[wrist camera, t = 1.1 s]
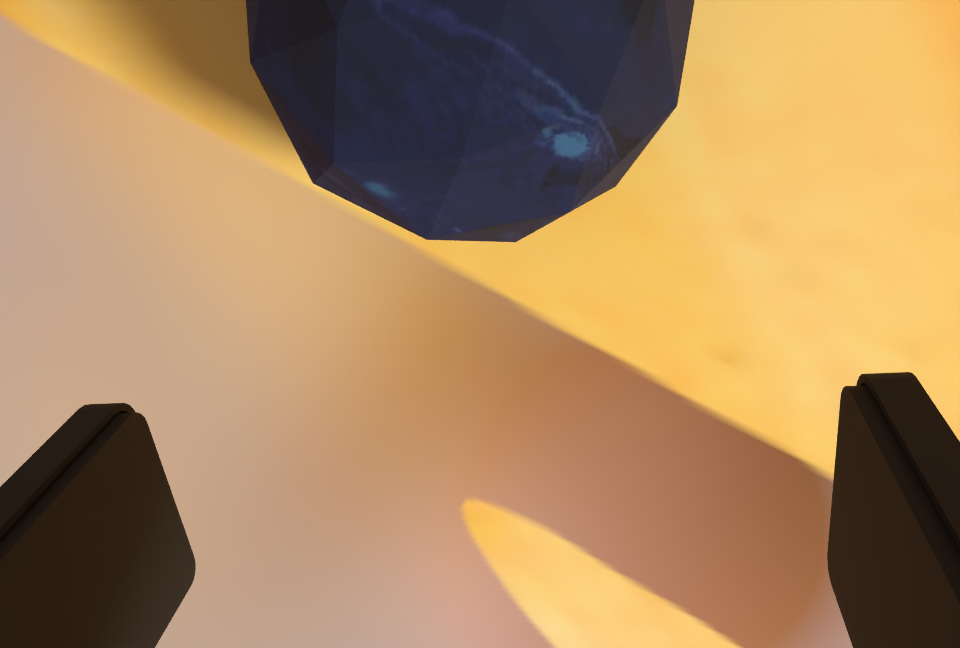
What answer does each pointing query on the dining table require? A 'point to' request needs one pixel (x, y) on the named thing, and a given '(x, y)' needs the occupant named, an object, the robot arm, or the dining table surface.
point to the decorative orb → (469, 102)
